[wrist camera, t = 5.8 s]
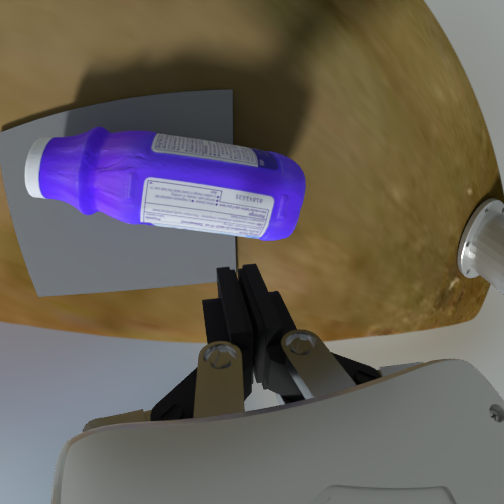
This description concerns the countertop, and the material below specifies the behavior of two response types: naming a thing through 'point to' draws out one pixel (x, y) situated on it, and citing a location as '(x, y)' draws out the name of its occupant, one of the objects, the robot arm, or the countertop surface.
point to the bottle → (170, 182)
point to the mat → (103, 226)
